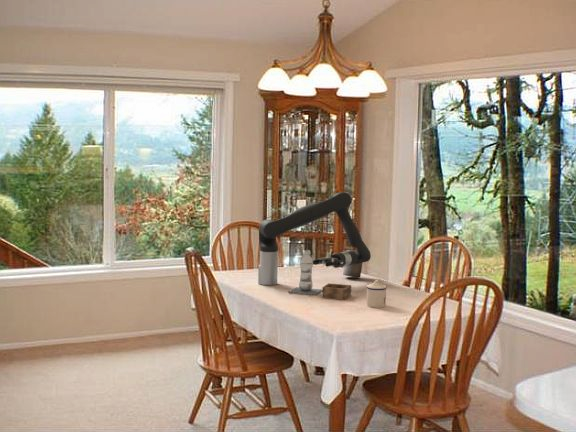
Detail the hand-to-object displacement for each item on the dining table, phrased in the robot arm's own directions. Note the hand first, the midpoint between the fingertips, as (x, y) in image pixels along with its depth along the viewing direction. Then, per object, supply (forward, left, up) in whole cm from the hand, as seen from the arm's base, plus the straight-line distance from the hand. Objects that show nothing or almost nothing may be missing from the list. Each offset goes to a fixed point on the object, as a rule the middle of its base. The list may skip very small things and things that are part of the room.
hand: (319, 263), depth 358 cm
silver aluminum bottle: (-4, -8, -13) cm, 16 cm away
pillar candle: (+8, +35, -12) cm, 37 cm away
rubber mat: (-4, -9, -13) cm, 16 cm away
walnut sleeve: (+13, -13, -13) cm, 22 cm away
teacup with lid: (+34, -23, -13) cm, 43 cm away
